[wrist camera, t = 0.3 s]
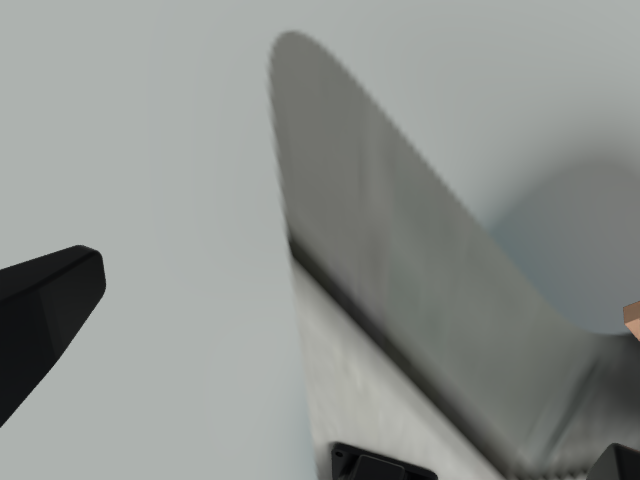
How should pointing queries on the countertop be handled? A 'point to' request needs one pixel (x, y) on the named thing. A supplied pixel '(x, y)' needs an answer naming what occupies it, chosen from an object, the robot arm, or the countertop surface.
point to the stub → (633, 318)
